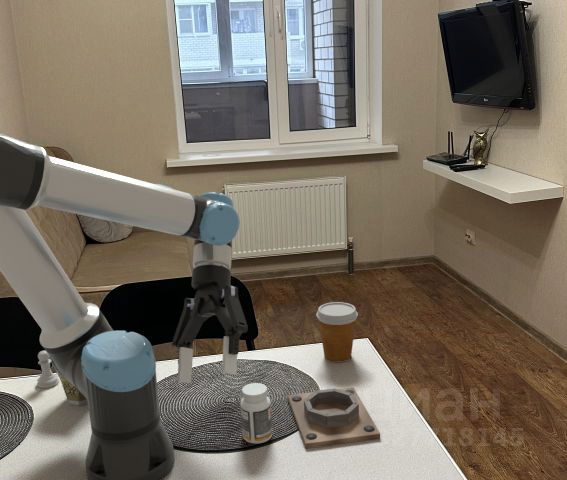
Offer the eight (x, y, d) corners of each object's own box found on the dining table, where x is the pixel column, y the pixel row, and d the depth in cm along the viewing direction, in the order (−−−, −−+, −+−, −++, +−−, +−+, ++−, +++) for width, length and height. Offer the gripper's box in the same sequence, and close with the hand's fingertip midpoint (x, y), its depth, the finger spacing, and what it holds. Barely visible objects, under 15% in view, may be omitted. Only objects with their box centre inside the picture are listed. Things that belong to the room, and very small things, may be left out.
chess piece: (32, 387, 144) (27, 354, 142) (45, 377, 149) (40, 345, 147) (50, 389, 143) (45, 356, 141) (63, 379, 147) (58, 347, 145)
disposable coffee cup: (363, 362, 150) (363, 313, 147) (323, 368, 148) (322, 318, 145) (350, 345, 159) (350, 299, 156) (312, 350, 157) (311, 304, 154)
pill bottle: (274, 428, 125) (272, 381, 122) (270, 445, 119) (268, 396, 116) (244, 427, 125) (241, 381, 123) (240, 444, 120) (236, 396, 117)
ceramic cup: (57, 392, 142) (50, 350, 139) (103, 382, 145) (98, 341, 143) (62, 421, 130) (55, 375, 127) (113, 409, 134) (107, 365, 131)
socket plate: (305, 448, 118) (305, 431, 117) (287, 399, 135) (287, 384, 134) (380, 438, 120) (380, 421, 119) (353, 391, 137) (353, 376, 136)
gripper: (268, 258, 122) (266, 372, 114) (189, 286, 139) (182, 387, 131) (238, 248, 117) (233, 366, 110) (160, 278, 134) (151, 382, 127)
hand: (205, 378), depth 120 cm, fingers open, 13 cm apart
